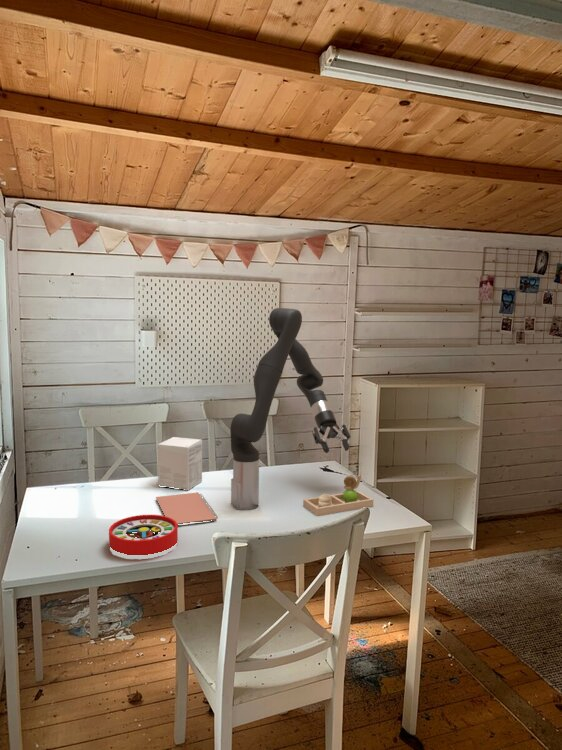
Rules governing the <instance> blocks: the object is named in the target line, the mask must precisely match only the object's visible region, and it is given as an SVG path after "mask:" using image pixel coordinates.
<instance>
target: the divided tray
mask: <svg viewBox="0 0 562 750" xmlns="http://www.w3.org/2000/svg"><path fill="white" fill-rule="evenodd" d="M355 491H356V492H357V494H358V499H357V501H355V502H349V503H346V502H345V501H344V500H343V493H344V492H343V493H335V494H330V497H331V499H332V505H330V506H324V507H318V504H319V497H320V496H317V497H310V498H304V499H303V501H302V502H303V508H305V509H306V510H308V511H309V512H311V513H312V514H313V515H315V516H316V517H320V516H325V515H330V514H339V513H342V512H343V513H344V512H350V511H355V510H360V509H364V508H363V507H367V508H373V507H374V499H373V498H371V497H370V496H369V495H368V496H367V495H366V494H364V493H363V492H360V491H359V490H355Z"/></svg>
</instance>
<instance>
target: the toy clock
mask: <svg viewBox="0 0 562 750" xmlns="http://www.w3.org/2000/svg"><path fill="white" fill-rule="evenodd" d="M178 527H179V526H178V524H177V522H176V521H175V520H173V519H172V518H169V517H166V516H164V515H160V514H139V515H134V516H127V517H125V518H122V519H120V520H117V521H115V522H114V523H112V524H111V525H110V527H109V528H108V546H109V545H110V547H111V548H112V549H113V550H115V551H117V552H120V553H124V554H127V555H148V554H154V553H158V552H162V551H164V550H167V549H169V548H171V547H172V546H174V545H175V544H176V543H177V541H178V542H179V539H178V536H179V535H178V533H179V532H178V530H179V529H178ZM150 530H151V531H150ZM132 532H137V533H132ZM153 532H155V534H154V533H153ZM158 532H160V533H159V534H158ZM126 534H127V535H126ZM130 534H134V535H130ZM135 537H137V538H135Z"/></svg>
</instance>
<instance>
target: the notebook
mask: <svg viewBox="0 0 562 750" xmlns="http://www.w3.org/2000/svg"><path fill="white" fill-rule="evenodd" d="M202 497H203V498H202ZM155 499H156V501H158V502H157V504H158V503H159V504H158V506H159V505H160V506H159V508H160V507H161V508H160V510H161V509H162V510H161V512H162V511H163V512H162V514H163V513H164V514H163V516H164V515H165V516H166V517H169V518H172V519H173V520H175V521H176V522H177V524H183V523H190V522H203V521H211V520H212V521H216V522H217V520H218V519H219V517H218V515H217V514H216V512H215V510H214V509H213V508H212V506H211V505H210V503H209V502H208V501H207V499H206V498H205V497H204V496H203V494H202V493H199V492H198V491H197V492H196V491H195V492H190V493H189V492H188V493H187V492H186V493H180V494H179V493H178V494H172V495H170V494H169V495H162V496H156V497H155ZM206 503H207V504H206ZM209 507H210V508H209ZM215 516H216V517H215ZM217 518H218V519H217Z"/></svg>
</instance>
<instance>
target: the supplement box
mask: <svg viewBox="0 0 562 750" xmlns="http://www.w3.org/2000/svg"><path fill="white" fill-rule="evenodd" d="M157 469H158V470H157V471H158V473H157V475H158V477H157V478H158V480H157V482H158V485H160V486H166V487H174V488H179V489H185V490H188V491H190V490H191V489H193V488H194V487H196V486H197V485H198V483H199V484H200V483H202V482H203V439H199V438H198V439H197V438H189V437H188V438H187V437H178V436H177V437H176V436H172V437H170V438H169V439H166V440H164V441H162V442H159V443H158V444H157ZM201 481H202V482H201ZM196 484H197V485H196ZM158 485H157V486H158ZM195 485H196V486H195ZM193 486H194V487H193ZM192 487H193V488H192ZM190 488H191V489H190ZM189 489H190V490H189Z"/></svg>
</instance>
